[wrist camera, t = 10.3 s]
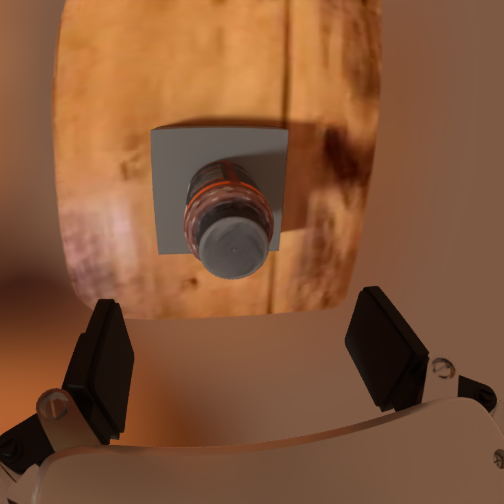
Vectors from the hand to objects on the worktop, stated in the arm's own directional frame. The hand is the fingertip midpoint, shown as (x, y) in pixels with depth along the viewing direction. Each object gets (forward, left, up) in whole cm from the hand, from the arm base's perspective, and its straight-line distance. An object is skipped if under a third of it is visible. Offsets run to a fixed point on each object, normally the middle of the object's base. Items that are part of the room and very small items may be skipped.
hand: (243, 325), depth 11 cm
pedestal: (0, 0, -22) cm, 22 cm away
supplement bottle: (0, 0, -18) cm, 18 cm away
